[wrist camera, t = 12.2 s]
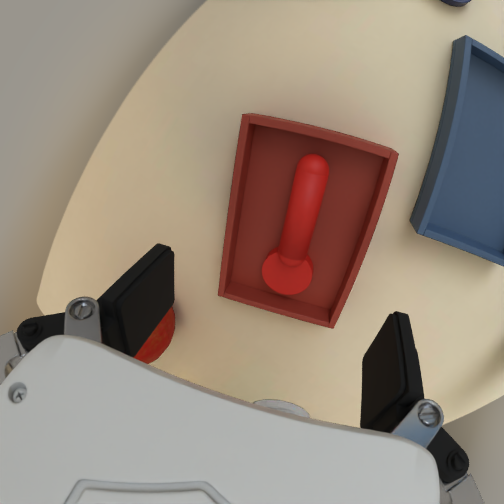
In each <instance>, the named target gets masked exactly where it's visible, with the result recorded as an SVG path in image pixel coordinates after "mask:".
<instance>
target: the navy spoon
mask: <svg viewBox="0 0 504 504" xmlns="http://www.w3.org/2000/svg"><path fill="white" fill-rule="evenodd" d="M441 1H442V2H444V3H446V4H449V5H452V6H464V5H465V4H467V3H468V2H470V1H471V0H441Z"/></svg>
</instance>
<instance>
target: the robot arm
mask: <svg viewBox="0 0 504 504" xmlns="http://www.w3.org/2000/svg"><path fill="white" fill-rule="evenodd" d="M173 303H174V252H173V251H171V247H169V246H166V245H162V244H156V245H155V246H154V247H153V248H152V249H151V250H150V251H148V252H147V253H146V254H145V255H144V256H143V257H142V258H141V259H140V260H139V261H137V262H136V263H135V264H134V265H133V266H132V267H131V268H130V269H129V270H128V271H127V272H125V273H124V274H123V275H122V276H121V277H120V278H119V279H118V280H117V281H116V282H115V283H114V284H113V285H112V286H111V287H110V288H109V289H108V290H107V291H106V292H105V293H104V294H103V295H102V296H101V297H100V298H99V299H98V300H97V301H96V300H95V299H93V298H90V297H79V298H76V299H74V300H72V301H71V302H70V303H69V304H68V305H67V307H66V310H65V312H64V313H58V314H52V315H46V316H40V317H34V318H30V319H27V320H25V321H23V322H22V323H21V324H20V325H19V327H18V329H17V332H16V333H14V332H13V331H10V332H8V333H6V334H3V335H1V336H0V504H484V502H483V499H482V497H481V495H480V492H479V490H478V488H477V486H476V484H475V482H474V480H473V477H472V475H471V474H469V475H468V474H467V470H468V467H469V459H468V456H467V454H466V453H465V451H464V450H463V449H462V448H461V447H460V446H459V445H458V444H457V443H456V442H455V441H454V439H453V438H452V437H451V436H450V435H449V434H448V433H447V432H446V431H445V430H444V429H443V428H442V427H441V426H442V424H443V422H444V415H443V411H442V409H441V407H440V406H439V405H438V404H437V403H436V402H435V401H433V400H430V399H424V392H423V384H422V378H421V371H420V365H419V359H418V353H417V350H416V348H415V344H414V339H413V334H412V329H411V324H410V320H409V316H408V314H405V313H401V312H397V311H395V312H394V313H393V314H389V316H388V317H387V319H386V321H385V323H384V324H383V326H382V328H381V329H380V331H379V333H378V334H377V336H376V337H375V339H374V341H373V342H372V344H371V345H370V347H369V349H368V350H367V352H366V353H365V355H364V357H363V361H362V400H361V420H360V427H361V428H357V427H351V426H346V425H341V424H336V423H331V422H326V421H321V420H316V419H311V418H307V417H303V416H298V415H294V414H290V413H286V412H283V411H279V410H275V409H271V408H268V407H264V406H261V405H257V404H254V403H250V402H247V401H244V400H241V399H238V398H235V397H231V396H228V395H225V394H222V393H220V392H217V391H214V390H211V389H208V388H205V387H203V386H200V385H197V384H195V383H192V382H189V381H187V380H184V379H182V378H179V377H177V376H174V375H172V374H169V373H167V372H165V371H162V370H160V369H158V368H155V367H153V366H151V365H148V364H146V363H144V362H142V361H139V360H137V359H135V358H133V357H135V356H136V354H137V353H138V352H139V350H140V349H141V347H142V346H143V345H144V343H145V342H146V341H147V339H148V338H149V336H150V335H151V334H152V332H153V331H154V330H155V328H156V327H157V326H158V324H159V323H160V322H161V320H162V319H163V317H164V316H165V315H166V313H167V312H168V311H169V309H170V308H171V307H172V305H173Z"/></svg>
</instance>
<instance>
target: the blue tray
mask: <svg viewBox="0 0 504 504" xmlns="http://www.w3.org/2000/svg"><path fill="white" fill-rule="evenodd" d="M410 222H411V224H412V226H413V227H414V229H415V231H416V233H417V234H420V235H423V236H426V237H429V238H431V239H434V240H437V241H440V242H443V243H445V244H448V245H451V246H453V247H456V248H459V249H461V250H464V251H467V252H469V253H472V254H474V255H477V256H479V257H482V258H484V259H487V260H489V261H492V262H494V263H496V264H499V265H501V266H504V58H503V57H502V56H500V55H499V54H497V53H496V52H494V51H493V50H491V49H489V48H488V47H486V46H484V45H483V44H481V43H479V42H478V41H476V40H474V39H472V38H470V37H468V36H467V35H465V36H463V37H461V38H459V39H457V40H454V41H453V50H452V58H451V65H450V72H449V78H448V84H447V90H446V95H445V101H444V105H443V110H442V115H441V119H440V124H439V128H438V132H437V136H436V140H435V143H434V147H433V151H432V154H431V158H430V161H429V165H428V168H427V171H426V175H425V178H424V181H423V184H422V187H421V190H420V193H419V196H418V199H417V202H416V205H415V207H414V210H413V213H412V216H411V218H410Z"/></svg>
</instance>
